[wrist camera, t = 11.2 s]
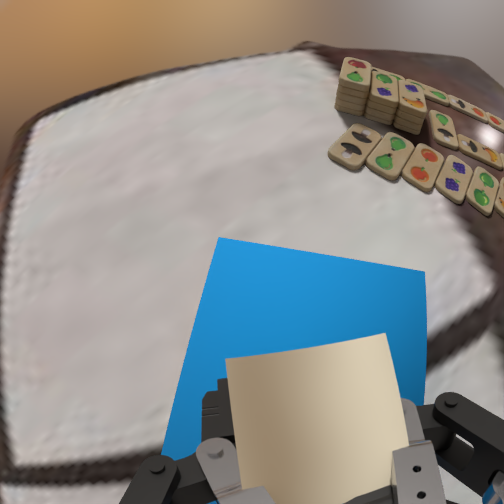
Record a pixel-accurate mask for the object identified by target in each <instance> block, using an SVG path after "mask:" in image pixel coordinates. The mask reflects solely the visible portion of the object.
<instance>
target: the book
mask: <svg viewBox="0 0 504 504" xmlns="http://www.w3.org/2000/svg"><path fill="white" fill-rule="evenodd" d="M382 333H386V337H387V341H388V345H389V349H390V353H391V357H392V361H393V366H394V370H395V374H396V379H397V384H398V388H399V393H400V398H405V399H408V400H410V401H412V402H413V403H414V404H415V406H422V405H424V393H425V377H426V352H427V310H426V285H425V272H424V271H418V270H412V269H406V268H401V267H395V266H389V265H383V264H377V263H372V262H366V261H360V260H354V259H348V258H342V257H336V256H330V255H324V254H318V253H312V252H306V251H300V250H294V249H288V248H282V247H276V246H270V245H264V244H258V243H252V242H245V241H239V240H233V239H227V238H221V237H219V238H218V241H217V245H216V248H215V251H214V255H213V258H212V262H211V265H210V269H209V272H208V276H207V279H206V283H205V286H204V290H203V293H202V297H201V300H200V304H199V308H198V311H197V315H196V318H195V322H194V326H193V329H192V333H191V337H190V341H189V344H188V348H187V352H186V356H185V359H184V363H183V367H182V371H181V375H180V379H179V383H178V387H177V391H176V395H175V399H174V403H173V407H172V411H171V415H170V419H169V423H168V427H167V431H166V436H165V440H164V444H163V448H162V453H161V455H165V456H169V457H171V458H172V459H173V460H174V461H176V460H179V459H182V458H185V457H188V456H190V455H192V454H193V453H195V452H196V449H197V447H198V446H199V445H200V444H201V422H202V399H203V397H204V396H205V394H206V392H208V391H216V390H218V388H217V379H221V378H227V370H226V361H225V359H228V358H238V357H246V356H254V355H262V354H270V353H277V352H284V351H291V350H297V349H304V348H310V347H316V346H322V345H327V344H333V343H338V342H344V341H349V340H354V339H359V338H364V337H369V336H373V335H378V334H382ZM207 504H217V503H216V501H213V502H210V503H207ZM343 504H344V503H343Z"/></svg>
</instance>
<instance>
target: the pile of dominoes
mask: <svg viewBox="0 0 504 504" xmlns="http://www.w3.org/2000/svg"><path fill="white" fill-rule="evenodd" d="M336 95H337V96H336V102H335V106H334V107H335V109H336V110H338V111H341V112H345V113H349V114H353V115H356V116H362V115H364V116H365V117H366V118H367V119H370V120H373V121H377V122H380V123H383V124H386V125H390V124H393V125H394V126H395V127H396V128H398V129H400V130H403V131H406V132H409V133H412V134H415V135H418V134H420V131H421V127H422V125H423V121H424V118H425V116H426V114H427V107H426V102H425V98H427V99H429V100H432V101H435V102H437V103H440V104H442V105H445V106H450V107H451V108H453V109H455V110H458V111H460V112H462V113H464V114H467V115H469V116H471V117H473V118H475V119H477V120H479V121H482V122H484V123H488V124H489V125H490V126H491V127H493V128H495V129H497V130H499V131H501V132H503V133H504V120H502V119H500V118H498V117H496V116H494V115H492V114H490V113H488V112H487V113H485V112H484V111H483V110H482V109H480V108H478V107H476V106H474V105H472V104H469V103H467V102H465V101H463V100H461V99H459V98H456V97H454V96H452V95H448V96H447V94H445V93H444V92H442V91H439V90H437V89H434V88H432V87H429V86H427V85H424V84H421V83H419V82H416V81H413V80H411V79H406V80H405V79H404V78H403V77H402V76H400V75H396V74H393V73H390V72H387V71H383V70H380V69H377V68H373V67H371V64H370V63H368V62H366V61H363V60H359V59H355V58H351V57H346V58H344V61H343V65H342V69H341V73H340V76H339V85H338V89H337V93H336ZM429 119H430V124H431V129H432V134H433V139H434V140H435V141H436V142H437V143H438V144H441V145H443V146H446V147H449V148H451V149H454V150H457V149H459V150H460V151H461V152H462V153H464V154H466V155H468V156H470V157H473V158H475V159H477V160H479V161H481V162H484V163H486V164H488V165H490V166H492V167H494V168H496V169H498V170H501V169H503V170H504V154H502V153H501V154H498V153H497V152H496V151H495V150H493V149H491V148H489V147H487V146H485V145H483V144H481V143H478V142H476V141H474V140H472V139H470V138H468V137H465V136H463V135H461V134H458V135H457V136H456V132H455V128H454V125H453V121H452V119H451V118H450V117H449V116H447V115H445V114H442V113H440V112H437V111H435V110H431V111H430V112H429ZM328 157H329V158H330V159H332V160H334V161H336V162H337V163H339V164H341V165H343V166H345V167H347V168H348V169H350V170H358V169H360V168H361V166H362V165H363V164H366V166H367V167H368V168H369V169H371V170H373V171H374V172H376V173H378V174H379V175H381V176H383V177H385V178H386V179H388V180H392V181H393V180H396V179H397V178H398V177H399V175H401V176H402V177H403V179H405V180H406V181H408V182H410V183H411V184H413V185H414V186H416V187H417V188H419V189H421V190H422V191H424V192H430V191H431V189H432V187H433V186H435V188H436V189H437V190H438V191H439V192H441V193H442V194H443V195H445V196H446V197H447V198H449V199H450V200H452V201H453V202H454V203H457V204H461V203H462V202H463V200H464V197H465V198H466V200H467V201H468V202H469V203H470V204H471V205H472V206H474V207H475V208H476V209H477V210H479V211H480V212H481V213H483V214H484V215H486V216H489V215H490V214H491V212H492V209H493V207H494V209H495V210H496V212H498V213H499V214H500V215H501V216H502V217H503V218H504V178H502V179H501V181H500V185H499V183H498V180H497V179H496V178H495V177H494V176H492V175H491V174H490V173H488V172H487V171H486V170H485V169H483V168H481V167H477V168H476V169H475V171H474V173H473V171H472V169H471V167H470V166H468V165H467V164H466V163H464V162H463V161H461V160H460V159H458V158H457V157H455V156H453V155H449V156H448V157H447V159H446V161H445V163H444V158H443V156H442V155H441V154H440V153H439V152H437V151H435V150H434V149H432V148H430V147H429V146H427V145H425V144H422V143H419V144H418V145H417V146H416V148H414V145H413V144H412V143H411V142H410V141H408V140H406V139H405V138H403V137H401V136H399V135H397V134H395V133H392V132H388V133H387V134H386V135H385V136H384V137H383V138H381V135H380V134H379V133H378V132H376V131H374V130H372V129H370V128H369V127H367V126H365V125H363V124H360V123H355V124H353V125H352V126H351V127H350V128H349V129H348V130H347V131H346V132H345V133H344V134H343V135H342V136H341V137H340V138H339V139H338V140H337V141H336V142H335V143H334V144H333V145H332V146H331V147H330V148H329V150H328Z"/></svg>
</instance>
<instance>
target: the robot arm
mask: <svg viewBox="0 0 504 504" xmlns="http://www.w3.org/2000/svg"><path fill="white" fill-rule="evenodd" d="M217 388H218V390H216V391H208V392H206V394H205V396H204V397H203V399H202V422H201V444H200V445H199V446H198V447H197V449H196V452H195V453H193V454H192V455H190V456H188V457H185V458H182V459H179V460H176V461H174V460H173V459H172V458H171V457H169V456H165V455H155V456H151V457H149V458H147V459H146V460H144V461H143V462H142V464H141V465H140V467H139V469H138V471H137V472H136V474H135V476H134V478H133V480H132V481H131V483H130V485H129V487H128V488H127V490H126V492H125V494H124V496H123V497H122V499H121V501H120V503H119V504H207V503H210V502H213V501H216V503H217V504H276V503H275V502H274V501H273V499H272V498H271V496H270V495H269V493H268V492H267V490H266V489H265V488H264V486H259V487H253V488H248V489H243V490H242V484H241V478H240V471H239V464H238V457H237V450H236V442H235V435H234V427H233V420H232V412H231V404H230V395H229V387H228V378H221V379H217ZM401 403H402V408H403V413H404V419H405V424H406V430H407V436H408V442H409V446H406V447H403V448H400V449H397V450H394V451H392V469H391V480H392V486H391V485H388V486H385V487H383V488H380V489H377V490H375V491H372V492H369V493H366V494H363V495H360V496H357V497H355V498H353V499H351V500H349V501H348V502H346V503H344V504H458V503H455V502H452V501H449V500H446V499H445V494H444V490H443V485H442V480H441V476H440V472H439V468H438V465H439V466H441V467H442V468H443V469H445V470H446V471H447V472H449V473H450V474H451V475H453V476H454V477H455V478H457V479H458V480H459V481H461V482H462V483H463V484H465V485H466V486H467V487H469V488H470V489H472V490H473V491H474V492H476V493H477V494H478V495H480V496H481V497H482V502H483V504H504V420H503V419H501V418H499V417H498V416H496V415H494V414H492V413H491V412H489V411H487V410H486V409H484V408H482V407H481V406H479V405H477V404H475V403H474V402H472V401H470V400H469V399H467V398H465V397H463V396H462V395H460V394H458V393H454V392H446V393H443V394H441V395H439V396H438V397H437V398H436V400H435V404H430V405H422V406H415V404H414V403H413V402H412V401H410V400H408V399H405V398H401ZM456 434H458V435H459V436H461V437H462V438H464V439H465V440H467V441H468V442H470V443H471V444H472V445H473V447H474V448H472V447H471V446H469V445H468V444H466V443H465V442H463V441H462V440H460V439H459V438H457V437H456Z"/></svg>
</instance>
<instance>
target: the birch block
mask: <svg viewBox="0 0 504 504" xmlns="http://www.w3.org/2000/svg"><path fill="white" fill-rule="evenodd" d="M225 361H226V370H227V378H228V387H229V395H230V404H231V412H232V420H233V427H234V435H235V442H236V450H237V457H238V464H239V471H240V478H241V484H242V490H243V489H248V488H253V487H259V486H264V488H265V489H266V490H267V492H268V493H269V495H270V496H271V498H272V499H273V501H274V502H275V503H276V504H343V503H346V502H348V501H349V500H351V499H353V498H355V497H357V496H360V495H363V494H366V493H369V492H372V491H375V490H377V489H380V488H383V487H385V486H388V485H391V486H392V480H391V469H392V451H394V450H397V449H400V448H403V447H406V446H409V442H408V436H407V430H406V424H405V419H404V413H403V408H402V403H401V398H400V393H399V388H398V384H397V379H396V374H395V370H394V366H393V361H392V357H391V353H390V349H389V345H388V341H387V337H386V333H382V334H378V335H373V336H369V337H364V338H359V339H354V340H349V341H344V342H338V343H333V344H327V345H322V346H316V347H310V348H304V349H297V350H291V351H284V352H277V353H270V354H262V355H254V356H246V357H238V358H228V359H225Z"/></svg>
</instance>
